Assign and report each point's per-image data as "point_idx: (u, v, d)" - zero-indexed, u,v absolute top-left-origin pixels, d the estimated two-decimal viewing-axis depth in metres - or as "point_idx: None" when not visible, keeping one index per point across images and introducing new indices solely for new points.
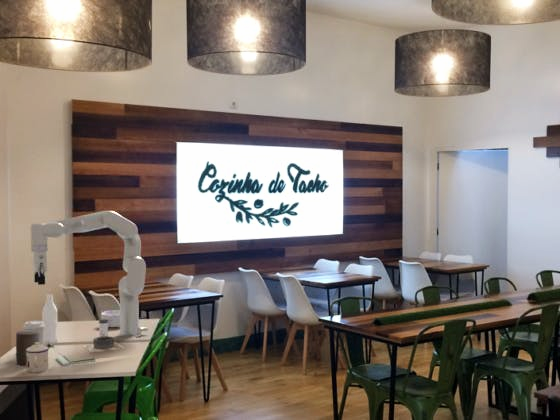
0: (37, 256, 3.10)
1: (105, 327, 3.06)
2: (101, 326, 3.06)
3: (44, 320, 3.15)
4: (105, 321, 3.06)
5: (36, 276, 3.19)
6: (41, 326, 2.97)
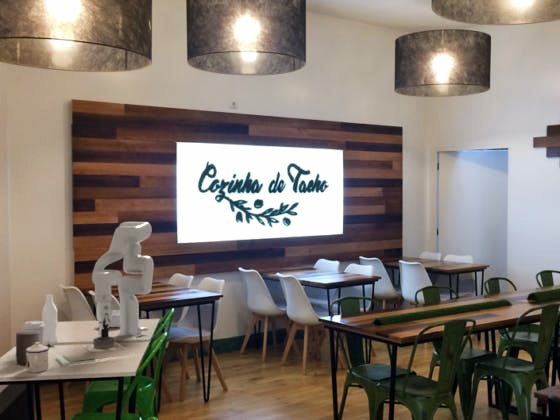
0: (102, 307, 3.03)
1: None
2: (101, 326, 3.06)
3: (44, 320, 3.15)
4: None
5: None
6: (41, 326, 2.97)
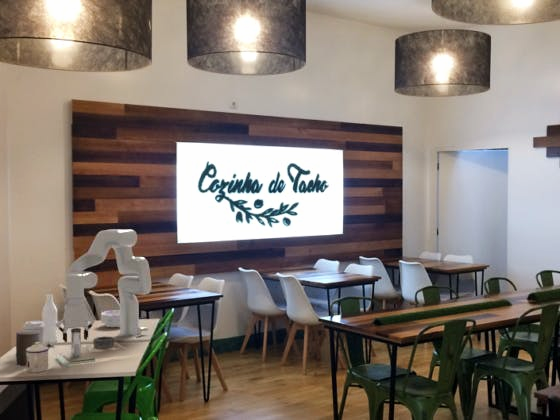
0: None
1: (71, 337, 2.87)
2: None
3: (44, 320, 3.15)
4: (71, 330, 2.87)
5: (84, 332, 2.91)
6: (41, 326, 2.97)
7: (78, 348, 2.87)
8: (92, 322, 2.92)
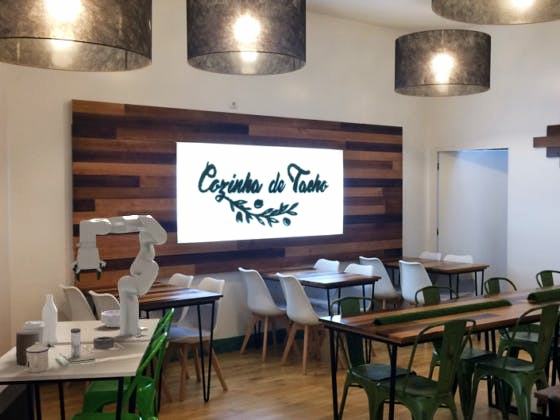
0: None
1: (71, 337, 2.87)
2: None
3: (44, 320, 3.15)
4: (71, 330, 2.87)
5: None
6: (41, 326, 2.97)
7: (78, 348, 2.87)
8: (104, 264, 3.19)
